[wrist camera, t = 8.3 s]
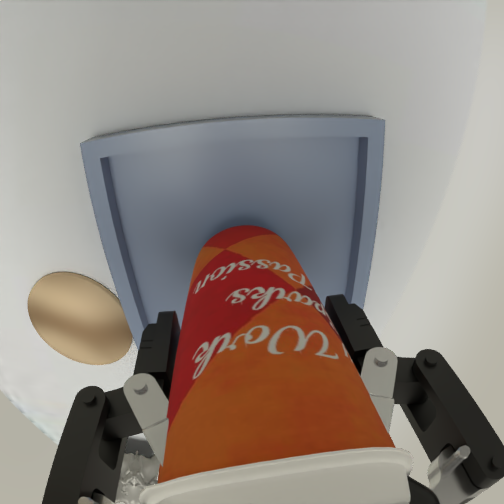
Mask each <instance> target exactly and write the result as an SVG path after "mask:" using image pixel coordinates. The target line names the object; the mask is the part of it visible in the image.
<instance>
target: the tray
mask: <svg viewBox="0 0 504 504" xmlns="http://www.w3.org/2000/svg"><path fill="white" fill-rule="evenodd" d="M384 133H385V120H383V119H379V118H376V117H372V116H358V115H323V114H299V115H264V116H245V117H231V118H219V119H208V120H198V121H189V122H181V123H173V124H166V125H159V126H152V127H146V128H140V129H134V130H128V131H122V132H117V133H112V134H107V135H102V136H97V137H92V138H90V139H88V140H86V141H84V142H82V143H80V146H81V152H82V158H83V163H84V168H85V173H86V178H87V183H88V188H89V192H90V197H91V201H92V206H93V210H94V214H95V218H96V222H97V226H98V230H99V234H100V237H101V241H102V245H103V248H104V252H105V255H106V259H107V262H108V265H109V269H110V272H111V275H112V278H113V281H114V285H115V288H116V291H117V294H118V297H119V300H120V303H121V305H122V308H123V311H124V314H125V317H126V320H127V322H128V325H129V328H130V330H131V333H132V336H133V338H134V341H135V343H136V346H137V348H138V350H139V346H140V342H141V337H142V333H143V331H144V329H145V328H146V327H147V325H148V324H152V323H157V317H158V313H159V312H163V311H176V314H177V317H178V321H179V325H180V329H181V326H182V321H183V316H184V311H185V305H186V301H187V296H188V291H189V287H190V282H191V278H192V274H193V270H194V266H195V263H196V259H197V257H198V254H199V252H200V251H201V249H202V247H203V246H204V245H205V243H206V242H207V241H208V240H209V239H210V238H212V237H213V236H214V235H216V234H217V233H219V232H221V231H223V230H225V229H228V228H231V227H234V226H241V225H253V226H259V227H263V228H266V229H268V230H271V231H272V232H274V233H276V234H277V235H278V236H280V237H281V238H282V239H283V240H284V241H285V242H286V243H287V245H288V246H289V247H290V249H291V250H292V252H293V253H294V255H295V257H296V258H297V260H298V262H299V263H300V265H301V267H302V269H303V270H304V272H305V274H306V276H307V277H308V279H309V281H310V283H311V284H312V286H313V288H314V290H315V292H316V294H317V295H318V297H319V299H320V301H321V303H322V304H323V306H324V308H325V300H326V297H327V296H330V295H337V294H343V295H344V296H345V298H346V300H347V302H348V304H352V303H355V304H356V305H357V306H359V307H360V308H361V309H363V307H364V302H365V296H366V291H367V286H368V280H369V274H370V268H371V262H372V255H373V249H374V242H375V234H376V227H377V218H378V210H379V201H380V191H381V179H382V167H383V152H384Z"/></svg>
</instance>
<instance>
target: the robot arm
mask: <svg viewBox="0 0 504 504" xmlns="http://www.w3.org/2000/svg"><path fill="white" fill-rule="evenodd" d="M325 310H326V312H327V314H328V316H329V317H330V319H331V321H332V323H333V325H334V327H335V329H336V331H337V332H338V334H339V336H340V338H341V340H342V342H343V344H344V346H345V348H346V350H347V351H348V353H349V355H350V357H351V359H352V361H353V363H354V365H355V367H356V369H357V371H358V373H359V375H360V377H361V379H362V381H363V383H364V385H365V387H366V389H367V391H368V393H369V395H370V398H371V400H372V402H373V404H374V406H375V408H376V410H377V412H378V414H379V416H380V418H381V420H382V422H383V424H384V426H385V428H386V430H387V432H388V434H389V429H390V424H391V419H392V413H393V407H394V404H400V406H401V407H402V409H403V411H404V413H405V415H406V417H407V418H408V420H409V422H410V424H411V426H412V428H413V429H414V431H415V433H416V435H417V437H418V438H419V440H420V442H421V444H422V446H423V448H424V450H425V452H426V454H427V456H428V458H429V459H430V461H431V464H430V466H429V468H428V472H427V473H428V479H429V488H428V487H426V486H424V485H422V484H421V483H419V482H417V481H416V480H414V479H412V478H411V477H409V476H407V479H408V484H409V489H410V502H409V504H465V503H467V502H468V501H470V500H472V499H473V498H475V497H476V496H478V495H479V494H481V493H482V492H483V491H485V490H486V489H488V488H489V487H491V486H492V485H493V484H495V483H496V482H497V481H499V480H500V479H501V478H503V477H504V445H503V444H502V442H501V440H500V439H499V437H498V436H497V434H496V433H495V431H494V429H493V428H492V426H491V425H490V423H489V422H488V420H487V419H486V417H485V416H484V414H483V413H482V411H481V410H480V408H479V407H478V405H477V404H476V402H475V401H474V399H473V398H472V396H471V395H470V394H469V392H468V391H467V389H466V388H465V386H464V385H463V384H462V382H461V381H460V379H459V378H458V377H457V375H456V374H455V372H454V371H453V370H452V368H451V367H450V366H449V364H448V363H447V361H446V360H445V359H444V357H443V356H442V355H441V354H440V353H438V352H437V351H435V350H431V349H425V350H422V351H420V352H419V353H418V354H417V356H416V358H402V357H396V355H395V353H394V352H392V351H391V350H389V349H387V348H384V347H383V346H382V344H381V342H380V340H379V338H378V336H377V334H376V333H375V331H374V329H373V327H372V325H370V322H369V320H368V319H367V316H366V315H365V313H364V311H363V309H361V308H360V307H359V306H357V305H356V304H355V303H352V304H348V302H347V300H346V298H345V296H344V295H343V294H337V295H330V296H327V297H326V300H325ZM180 331H181V329H180V325H179V321H178V317H177V314H176V311H163V312H159V313H158V317H157V323H152V324H148V325H147V327H146V328H145V329H144V331H143V333H142V337H141V342H140V346H139V350H138V355H137V360H136V365H135V370H134V374H133V376H131V377H130V378H129V379H128V380H127V381H126V382H125V384H124V387H122V388H119V389H116V390H112V391H108V392H105V393H104V391H103V390H102V389H101V388H99V387H97V386H88V387H85V388H83V389H82V390H80V391H79V392H78V394H77V395H76V397H75V400H74V402H73V405H72V408H71V410H70V413H69V416H68V419H67V422H66V425H65V427H64V430H63V433H62V436H61V439H60V442H59V445H58V449H57V452H56V455H55V458H54V461H53V465H52V468H51V471H50V475H49V478H48V482H47V486H46V489H45V494H44V497H43V501H42V504H115V500H116V494H117V489H118V483H119V478H120V473H121V468H122V463H123V458H124V453H125V448H126V443H127V439H128V436H132V435H136V434H140V433H144V435H145V437H146V439H147V441H148V443H149V445H150V446H151V448H152V450H153V452H154V453H155V455H156V457H157V459H158V460H159V462H160V464H161V465H162V467H163V461H164V454H165V446H166V438H167V431H168V424H169V419H168V418H167V410H168V404H169V395H170V389H171V383H172V376H173V370H174V365H175V359H176V353H177V347H178V342H179V336H180Z"/></svg>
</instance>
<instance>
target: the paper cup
mask: <svg viewBox="0 0 504 504" xmlns="http://www.w3.org/2000/svg"><path fill="white" fill-rule="evenodd" d="M167 418H168V419H169V424H168V431H167V438H166V446H165V454H164V461H163V467H162V465H161V464H160V467H159V475H158V484H155V485H150V486H146V487H145V488H144V489H143V490H142V491H141V492H140V496H139V500H140V503H141V504H409V502H410V489H409V484H408V479H407V476H409V474H410V472H411V470H412V464H413V456H412V455H411V454H410V452H409V451H406V450H404V449H400V448H396V447H395V446H394V443H393V441H392V439H391V437H390V435H389V434H388V432H387V430H386V428H385V426H384V424H383V422H382V420H381V418H380V416H379V414H378V412H377V410H376V408H375V406H374V404H373V402H372V400H371V398H370V395H369V393H368V391H367V389H366V387H365V385H364V383H363V381H362V379H361V377H360V375H359V373H358V371H357V369H356V367H355V365H354V363H353V361H352V359H351V357H350V355H349V353H348V351H347V350H346V348H345V346H344V344H343V342H342V340H341V338H340V336H339V334H338V332H337V331H336V329H335V327H334V325H333V323H332V321H331V319H330V317H329V316H328V314H327V312H326V310H325V308H324V306H323V304H322V303H321V301H320V299H319V297H318V295H317V294H316V292H315V290H314V288H313V286H312V284H311V283H310V281H309V279H308V277H307V276H306V274H305V272H304V270H303V269H302V267H301V265H300V263H299V262H298V260H297V258H296V257H295V255H294V253H293V252H292V250H291V249H290V247H289V246H288V245H287V243H286V242H285V241H284V240H283V239H282V238H281V237H280V236H278V235H277V234H276V233H274V232H272V231H271V230H268V229H266V228H263V227H259V226H253V225H241V226H234V227H231V228H228V229H225V230H223V231H221V232H219V233H217V234H216V235H214V236H213V237H212V238H210V239H209V240H208V241H207V242H206V243H205V245H204V246H203V247H202V249H201V251H200V252H199V254H198V257H197V259H196V263H195V266H194V270H193V274H192V278H191V282H190V287H189V291H188V296H187V301H186V305H185V311H184V316H183V321H182V326H181V331H180V336H179V342H178V347H177V353H176V359H175V365H174V370H173V376H172V383H171V389H170V395H169V404H168V410H167Z"/></svg>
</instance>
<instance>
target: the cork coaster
mask: <svg viewBox="0 0 504 504" xmlns="http://www.w3.org/2000/svg"><path fill="white" fill-rule="evenodd" d="M28 312H29V316H30V319H31V322H32V324H33V326H34V328H35V329H36V331H37V332H38V334H39V335H40V337H41V338H42V339H43V340H44V341H45V342H46V343H47V344H48V345H49V346H50V347H52V348H53V349H54V350H56V351H57V352H59V353H60V354H62V355H64V356H65V357H67V358H69V359H72V360H74V361H77V362H81V363H84V364H90V365H104V364H110V363H113V362H115V361H118V360H119V359H121V358H122V357H123V356H124V355H125V354H126V353H127V352H128V350H129V348H130V346H131V342H132V338H133V336H132V333H131V330H130V328H129V325H128V322H127V320H126V317H125V314H124V311H123V308H122V305H121V303H120V301H119V299H118V298H117V297H116V296H115V295H114V294H113V293H111V292H110V291H109V290H108V289H107V288H105V287H104V286H103V285H101V284H99V283H98V282H96V281H94V280H92V279H90V278H88V277H85V276H82V275H79V274H75V273H69V272H57V273H52V274H49V275H46V276H44V277H42V278H41V279H40V280H39V281H38V282H37V283H36V284H35V285H34V287H33V288H32V290H31V292H30V294H29V297H28Z"/></svg>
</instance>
